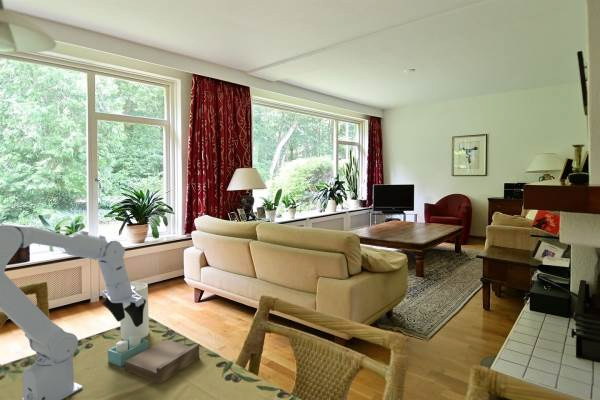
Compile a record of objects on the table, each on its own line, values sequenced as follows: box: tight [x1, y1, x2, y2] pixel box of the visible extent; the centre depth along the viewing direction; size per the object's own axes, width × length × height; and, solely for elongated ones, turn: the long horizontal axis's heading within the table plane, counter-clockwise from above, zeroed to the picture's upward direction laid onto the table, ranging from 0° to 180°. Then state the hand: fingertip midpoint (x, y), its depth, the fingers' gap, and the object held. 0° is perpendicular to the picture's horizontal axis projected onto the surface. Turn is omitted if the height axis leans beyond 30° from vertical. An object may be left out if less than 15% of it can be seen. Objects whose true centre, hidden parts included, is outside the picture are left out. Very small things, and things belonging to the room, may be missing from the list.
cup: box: [119, 282, 150, 341], centre depth 114 cm, size 8×8×16 cm
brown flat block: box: [124, 339, 200, 385], centre depth 98 cm, size 14×13×4 cm
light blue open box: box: [107, 335, 150, 368], centre depth 102 cm, size 9×5×5 cm, turn 153°
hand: (130, 322), depth 102 cm, fingers open, 7 cm apart
